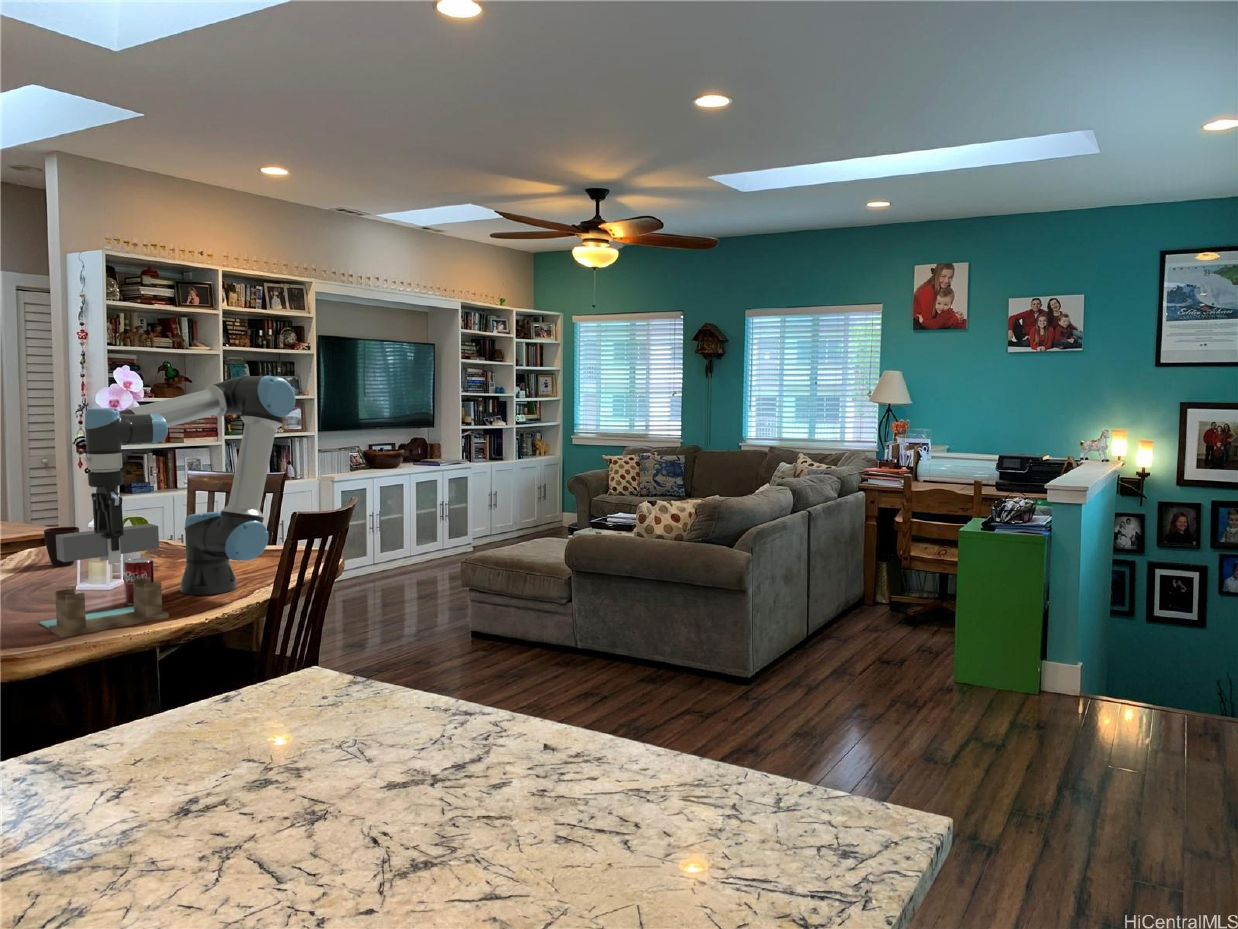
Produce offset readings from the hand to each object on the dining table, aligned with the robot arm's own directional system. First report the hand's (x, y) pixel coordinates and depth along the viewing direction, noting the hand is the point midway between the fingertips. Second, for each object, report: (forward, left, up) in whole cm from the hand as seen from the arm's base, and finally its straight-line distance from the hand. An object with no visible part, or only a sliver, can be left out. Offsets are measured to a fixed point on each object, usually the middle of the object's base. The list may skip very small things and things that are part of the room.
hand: (110, 561), depth 227 cm
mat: (0, -10, -16) cm, 19 cm away
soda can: (-14, -18, -16) cm, 28 cm away
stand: (0, 0, -16) cm, 16 cm away
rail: (0, 0, +2) cm, 2 cm away
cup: (-18, -91, -16) cm, 94 cm away
